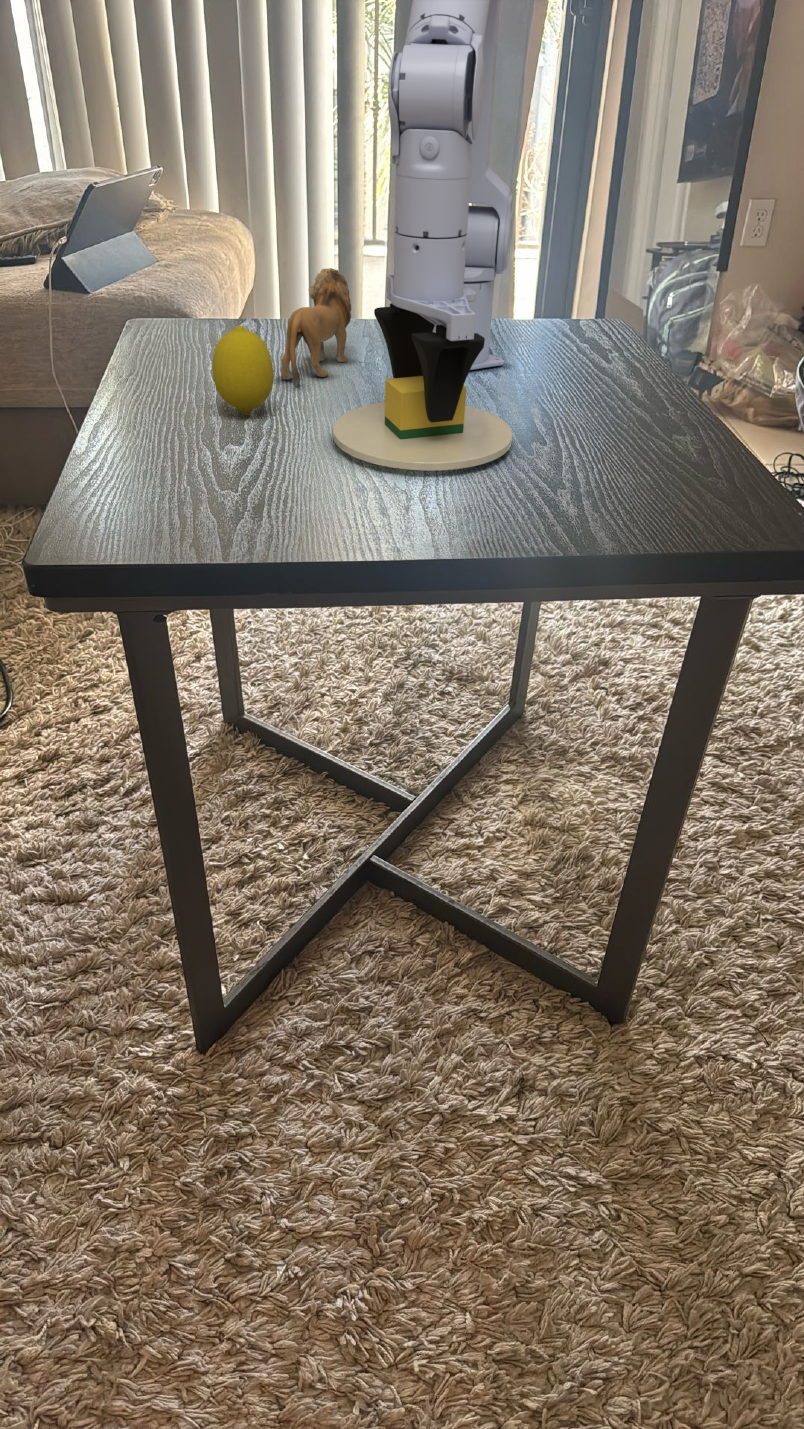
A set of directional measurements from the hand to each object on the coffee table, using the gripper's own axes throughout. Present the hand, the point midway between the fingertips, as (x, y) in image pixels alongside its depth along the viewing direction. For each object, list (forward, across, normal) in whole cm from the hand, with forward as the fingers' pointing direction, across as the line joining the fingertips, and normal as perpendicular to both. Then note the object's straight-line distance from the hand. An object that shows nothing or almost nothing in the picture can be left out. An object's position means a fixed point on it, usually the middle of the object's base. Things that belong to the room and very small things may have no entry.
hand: (423, 406), depth 80 cm
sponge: (+2, 0, 0) cm, 2 cm away
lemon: (+3, +12, +13) cm, 18 cm away
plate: (+3, 0, 0) cm, 3 cm away
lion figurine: (+3, +25, +2) cm, 25 cm away
